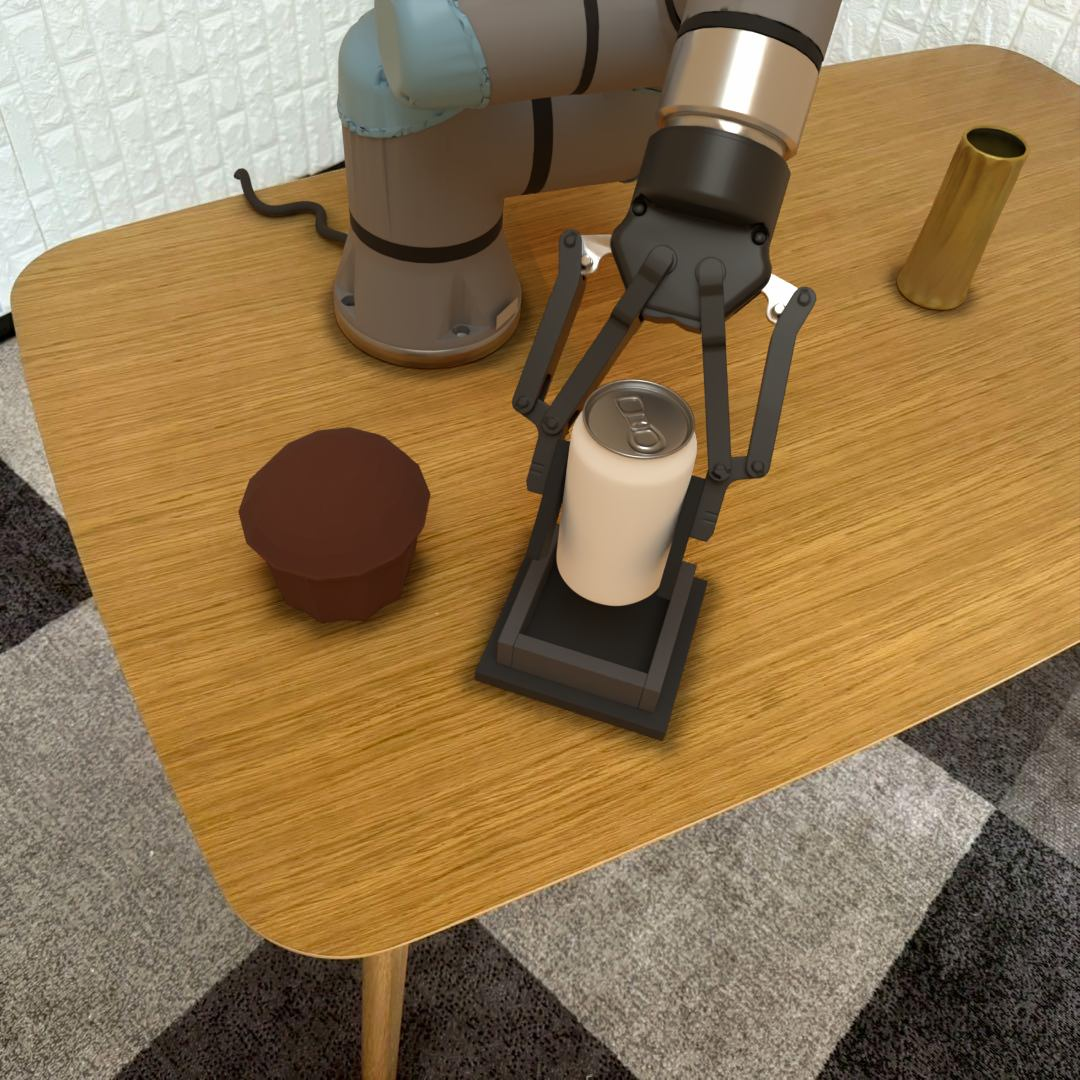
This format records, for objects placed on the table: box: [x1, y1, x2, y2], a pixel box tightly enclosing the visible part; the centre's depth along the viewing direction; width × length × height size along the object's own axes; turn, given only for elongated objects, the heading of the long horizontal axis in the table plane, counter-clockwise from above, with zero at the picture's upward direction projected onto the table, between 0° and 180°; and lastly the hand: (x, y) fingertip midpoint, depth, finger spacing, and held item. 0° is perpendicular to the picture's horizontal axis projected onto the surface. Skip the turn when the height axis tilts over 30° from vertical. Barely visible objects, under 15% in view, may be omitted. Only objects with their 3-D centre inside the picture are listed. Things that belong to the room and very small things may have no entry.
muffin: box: [237, 426, 432, 624], centre depth 63 cm, size 12×11×10 cm
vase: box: [896, 124, 1031, 311], centre depth 85 cm, size 6×6×14 cm
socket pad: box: [474, 522, 709, 741], centre depth 64 cm, size 12×12×4 cm
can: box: [557, 378, 698, 606], centre depth 55 cm, size 6×6×12 cm
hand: (600, 575), depth 55 cm, fingers closed on can, 6 cm apart
